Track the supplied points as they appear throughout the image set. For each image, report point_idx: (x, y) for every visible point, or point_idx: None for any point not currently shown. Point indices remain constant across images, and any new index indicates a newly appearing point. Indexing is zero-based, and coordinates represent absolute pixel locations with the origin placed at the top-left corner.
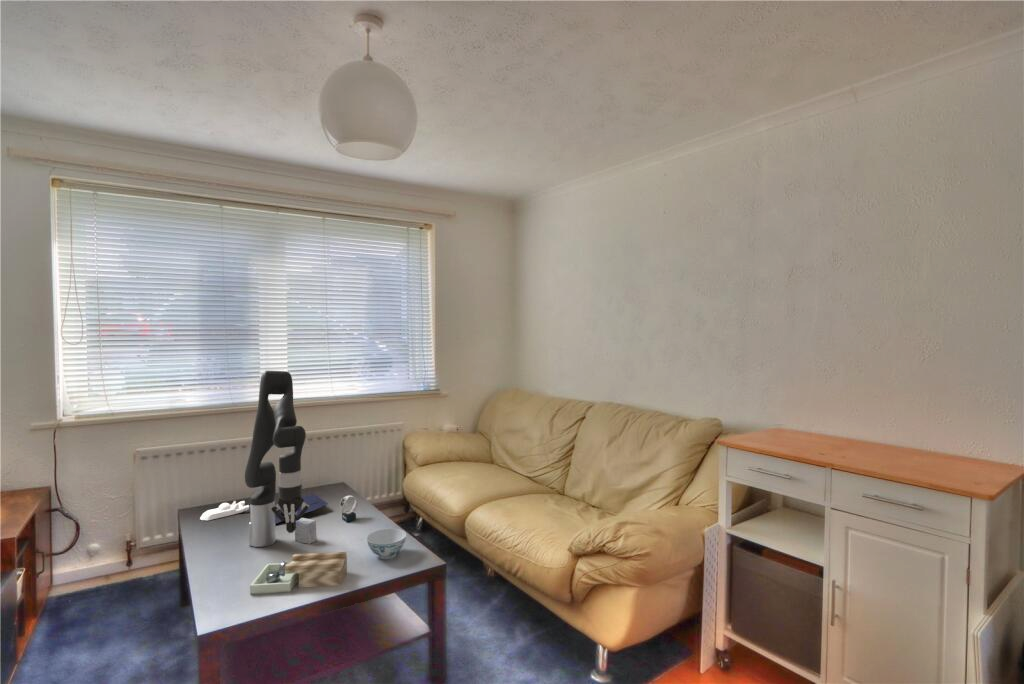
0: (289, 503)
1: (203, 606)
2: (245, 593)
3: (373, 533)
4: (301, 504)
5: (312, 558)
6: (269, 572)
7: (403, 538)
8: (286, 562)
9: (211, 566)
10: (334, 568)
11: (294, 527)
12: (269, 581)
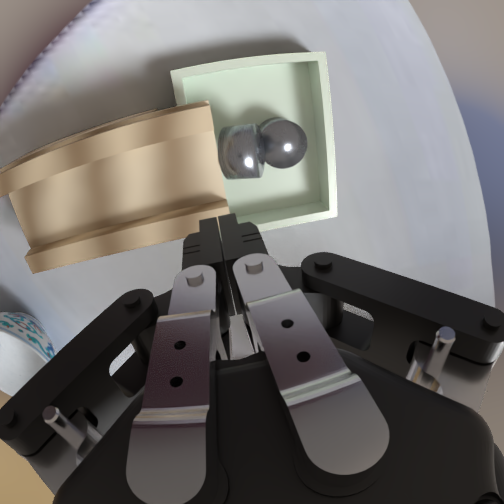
0: (272, 499)
1: (407, 8)
2: (331, 62)
3: None
4: (65, 479)
5: (140, 220)
6: (302, 154)
7: None
8: (237, 168)
9: (463, 226)
10: (16, 161)
11: (184, 250)
12: (281, 118)
